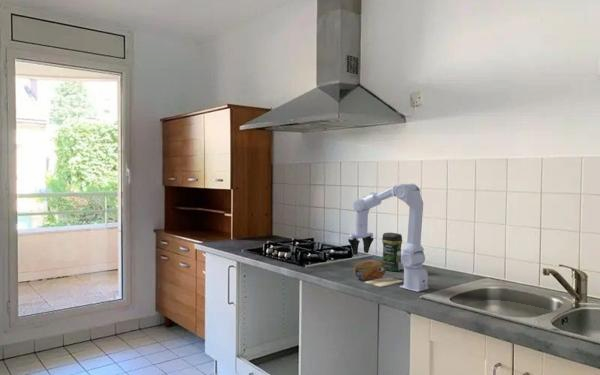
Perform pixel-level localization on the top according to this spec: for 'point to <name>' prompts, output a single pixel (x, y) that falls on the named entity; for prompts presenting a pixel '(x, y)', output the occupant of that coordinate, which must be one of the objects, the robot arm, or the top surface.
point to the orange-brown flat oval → (369, 270)
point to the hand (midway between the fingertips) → (360, 253)
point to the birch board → (383, 281)
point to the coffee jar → (392, 251)
